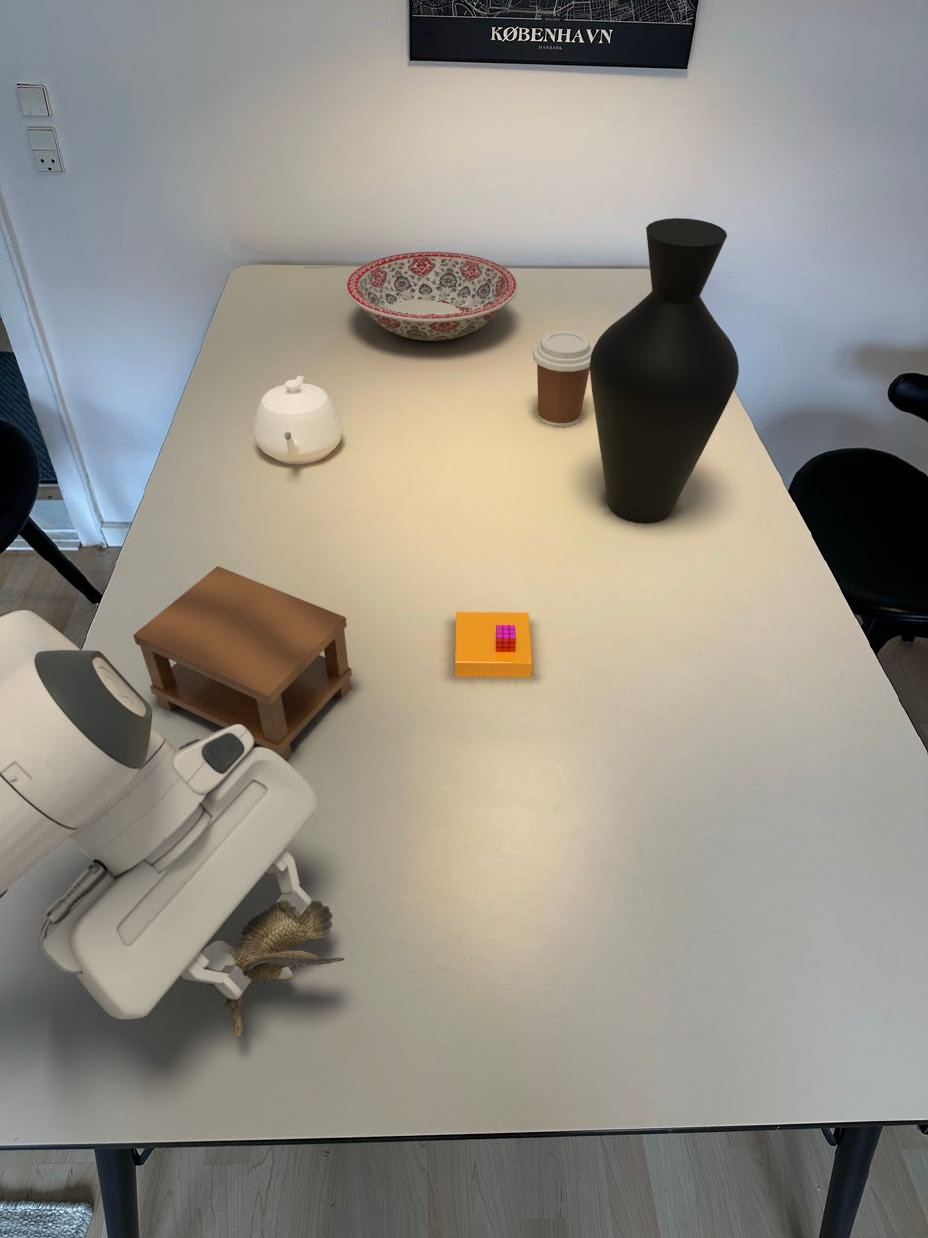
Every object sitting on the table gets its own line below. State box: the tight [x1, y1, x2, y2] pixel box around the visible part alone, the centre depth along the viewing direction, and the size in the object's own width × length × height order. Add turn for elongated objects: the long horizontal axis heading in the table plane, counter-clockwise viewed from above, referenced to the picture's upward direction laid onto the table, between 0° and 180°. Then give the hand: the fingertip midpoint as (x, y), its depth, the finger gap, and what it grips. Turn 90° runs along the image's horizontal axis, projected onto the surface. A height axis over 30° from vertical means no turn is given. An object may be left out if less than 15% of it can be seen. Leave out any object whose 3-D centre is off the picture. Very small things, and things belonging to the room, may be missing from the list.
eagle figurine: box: [201, 896, 345, 1039], centre depth 67 cm, size 8×7×9 cm
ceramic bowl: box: [345, 251, 518, 341], centre depth 156 cm, size 29×29×8 cm
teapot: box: [252, 375, 344, 465], centre depth 125 cm, size 20×12×10 cm, turn 3°
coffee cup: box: [532, 330, 594, 428], centre depth 132 cm, size 9×9×12 cm
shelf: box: [132, 565, 353, 762], centre depth 89 cm, size 12×16×10 cm
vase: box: [589, 217, 740, 525], centre depth 107 cm, size 17×17×35 cm
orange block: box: [454, 611, 533, 678], centre depth 97 cm, size 8×8×4 cm
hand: (273, 948), depth 66 cm, fingers closed on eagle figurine, 6 cm apart
